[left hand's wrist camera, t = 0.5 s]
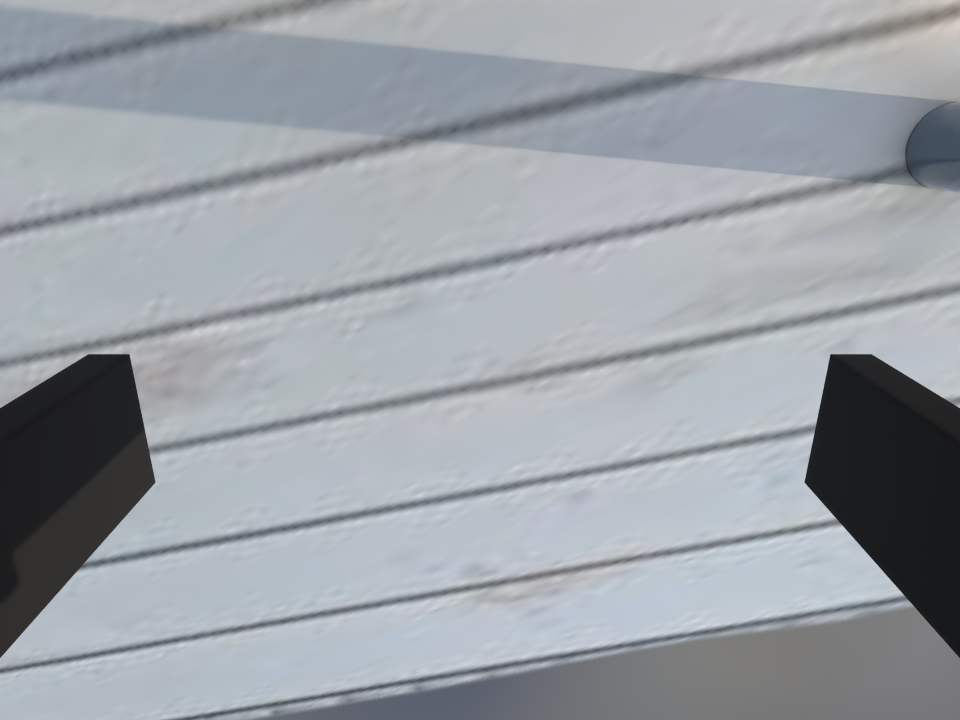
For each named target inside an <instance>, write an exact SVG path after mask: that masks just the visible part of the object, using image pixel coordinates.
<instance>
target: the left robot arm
mask: <svg viewBox="0 0 960 720" xmlns="http://www.w3.org/2000/svg"><path fill="white" fill-rule="evenodd" d="M154 483H155V478H154V473H153V468H152V463H151V458H150V454H149V449H148V444H147V439H146V434H145V429H144V424H143V419H142V414H141V409H140V404H139V399H138V394H137V389H136V384H135V380H134V375H133V370H132V365H131V360H130V355H129V354H88V355H87V356H85V357H83V358H82V359H80V360H79V361H77V362H75V363H74V364H72V365H70V366H69V367H67V368H65V369H64V370H62V371H61V372H59V373H57V374H56V375H54V376H52V377H51V378H49V379H47V380H46V381H44V382H42V383H41V384H39V385H38V386H36V387H34V388H33V389H31V390H29V391H28V392H26V393H24V394H23V395H21V396H20V397H18V398H16V399H15V400H13V401H11V402H10V403H8V404H6V405H5V406H3V407H2V408H0V658H1V656H2V655H3V654H4V653H5V652H6V651H7V650H8V649H9V647H10V646H11V645H12V644H13V643H14V642H15V641H16V639H17V638H18V637H19V636H20V635H21V634H22V633H23V632H24V630H25V629H26V628H27V627H28V626H29V625H30V624H31V623H32V621H33V620H34V619H35V618H36V617H37V616H38V615H39V613H40V612H41V611H42V610H43V609H44V608H45V607H46V606H47V604H48V603H49V602H50V601H51V600H52V599H53V598H54V596H55V595H56V594H57V593H58V592H59V591H60V590H61V589H62V587H63V586H64V585H65V584H66V583H67V582H68V581H69V580H70V578H71V577H72V576H73V575H74V574H75V573H76V572H77V570H78V569H79V568H80V567H81V566H82V565H83V564H84V563H85V561H86V560H87V559H88V558H89V557H90V556H91V555H92V554H93V552H94V551H95V550H96V549H97V548H98V547H99V546H100V544H101V543H102V542H103V541H104V540H105V539H106V538H107V537H108V535H109V534H110V533H111V532H112V531H113V530H114V529H115V528H116V526H117V525H118V524H119V523H120V522H121V521H122V520H123V518H124V517H125V516H126V515H127V514H128V513H129V512H130V511H131V509H132V508H133V507H134V506H135V505H136V504H137V503H138V502H139V500H140V499H141V498H142V497H143V496H144V495H145V494H146V492H147V491H148V490H149V489H150V488H151V487H152V486H153V485H154ZM805 483H806V485H807V486H808V487H809V488H810V489H811V490H812V491H813V492H814V494H815V495H816V496H817V497H818V498H819V499H820V500H821V502H822V503H823V504H824V505H825V506H826V507H827V508H828V509H829V511H830V512H831V513H832V514H833V515H834V516H835V517H836V518H837V520H838V521H839V522H840V523H841V524H842V525H843V526H844V528H845V529H846V530H847V531H848V532H849V533H850V534H851V535H852V537H853V538H854V539H855V540H856V541H857V542H858V543H859V544H860V546H861V547H862V548H863V549H864V550H865V551H866V552H867V554H868V555H869V556H870V557H871V558H872V559H873V560H874V561H875V563H876V564H877V565H878V566H879V567H880V568H881V569H882V570H883V572H884V573H885V574H886V575H887V576H888V577H889V578H890V580H891V581H892V582H893V583H894V584H895V585H896V586H897V587H898V589H899V590H900V591H901V592H902V593H903V594H904V595H905V596H906V598H907V599H908V600H909V601H910V602H911V603H912V604H913V606H914V607H915V608H916V609H917V610H918V611H919V612H920V613H921V615H922V616H923V617H924V618H925V619H926V620H927V621H928V623H929V624H930V625H931V626H932V627H933V628H934V629H935V630H936V632H937V633H938V634H939V635H940V636H941V637H942V638H943V639H944V641H945V642H946V643H947V644H948V645H949V646H950V647H951V649H952V650H953V651H954V652H955V653H956V654H957V655H958V656H959V658H960V408H958V407H957V406H955V405H954V404H952V403H950V402H949V401H947V400H945V399H944V398H942V397H940V396H939V395H937V394H936V393H934V392H932V391H931V390H929V389H927V388H926V387H924V386H922V385H921V384H919V383H918V382H916V381H914V380H913V379H911V378H909V377H908V376H906V375H904V374H903V373H901V372H899V371H898V370H896V369H895V368H893V367H891V366H890V365H888V364H886V363H885V362H883V361H881V360H880V359H878V358H877V357H875V356H873V355H872V354H831V355H830V360H829V365H828V370H827V375H826V380H825V384H824V389H823V394H822V399H821V404H820V409H819V414H818V419H817V424H816V429H815V434H814V439H813V444H812V449H811V454H810V458H809V463H808V468H807V473H806V478H805Z"/></svg>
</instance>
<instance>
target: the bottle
mask: <svg viewBox="0 0 960 720" xmlns="http://www.w3.org/2000/svg"><path fill="white" fill-rule="evenodd" d="M906 160H907V166H908V169H909V171H910V173H911V175H912V176H913V177H914V179H915V180H916V181H917V182H919V183H920V184H922V185H923V186H926V187H929V188H933V189H939V190H945V191H952V192H958V193H960V102H953V103H948V104H945V105H942V106H940V107H938V108H936V109H934V110H933V111H931V112H930V113H929V114H927V115H926V116H925V117H924V118H923V119H922V120H921V121H920V122H919V123H918V125H917V126H916V128H915V129H914V131H913V133H912V134H911V137H910V139H909V142H908V146H907V151H906Z"/></svg>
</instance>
